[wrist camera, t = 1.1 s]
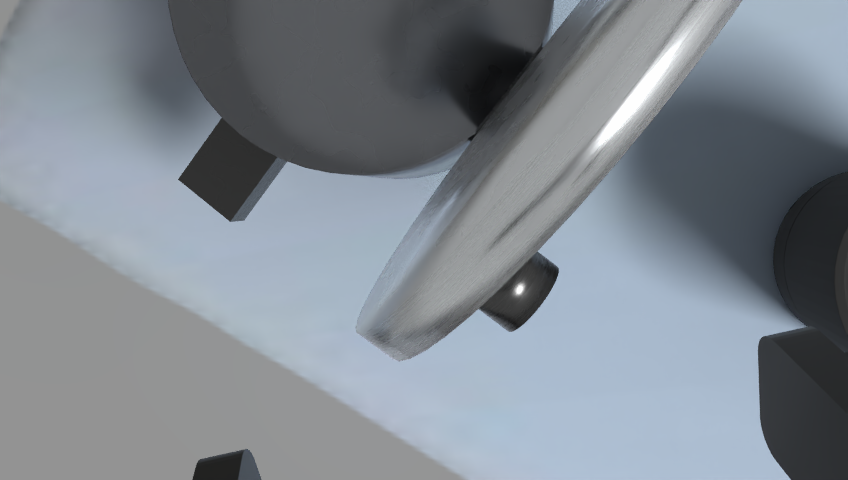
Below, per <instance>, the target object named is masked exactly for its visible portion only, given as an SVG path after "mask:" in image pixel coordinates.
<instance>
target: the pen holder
mask: <svg viewBox="0 0 848 480" xmlns="http://www.w3.org/2000/svg"><path fill="white" fill-rule="evenodd" d="M773 263H774V273H775V277H776V281H777V285H778V287H779V290H780V292H781V295H782V296H783V298H784V300H785V302H786V304H787V305H788V307H789V308H790V309H791V311H792V312H793V313H794V314H795V315H796V316H797V317H798V318H799V319H800V320H801V321H802V322H803V323H804V324H805V325H806V326H808V327H809V326H811V327H815V328H816V329H818V330H819V331H820V332H821V333H823V334H824V335H825V336H826V337H827V338H828V339H829V340H831V341H832V342H833V343H834V344H835V345H836V346H837V347H839V348H840V349H841V350H842V351H843V352H845V353H846V352H848V172H845V173H841V174H838V175H836V176H833V177H830V178H828V179H826V180H824V181H822V182H820V183H818V184H817V185H815V186H814V187H812V188H811V189H810V190H808V191H807V192H806V193H805V194H804V195H802V196H801V197H800V198H799V199H798V200H797V201H796V202H795V204H794V205H793V206H792V207H791V208H790V210H789V211H788V213H787V214H786V216H785V217H784V219H783V222H782V224H781V226H780V228H779V231H778V234H777V237H776V241H775V246H774V257H773Z"/></svg>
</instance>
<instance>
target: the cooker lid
mask: <svg viewBox="0 0 848 480" xmlns="http://www.w3.org/2000/svg"><path fill="white" fill-rule="evenodd" d="M741 1H742V0H581V1H580V2H579V4H578V5H577V6H576V7H575V8H574V10H573V11H572V12H571V13H570V15H569V16H568V17H567V18H566V20H565V21H564V22H563V23H562V25H561V26H560V27H559V28H558V29H557V31H556V32H555V33H554V34H553V36H552V37H551V38H550V39H549V41H548V42H547V43H546V44H545V46H544V47H543V48H542V47H539V48H538V50H537V51H536V52H535V54H534V55H533V56H532V58H531V59H530V60H529V62H528V63H527V64H526V65H525V67H524V68H523V69H522V71H521V72H520V73H519V75H518V76H517V77H516V78H515V80H514V81H513V82H512V84H511V85H510V86H509V88H508V89H507V90H506V92H505V93H504V94H503V95H502V97H501V98H500V99H499V101H498V102H497V103H496V105H495V106H494V107H493V108H492V110H491V111H490V112H489V114H488V115H487V116H486V118H485V119H484V120H483V121H482V123H481V124H480V125H479V127H478V128H477V129H476V131H475V132H477V134H476V136H475V137H474V138H473V140H472V141H471V142H470V144H469V145H468V146H467V148H466V149H465V151H464V152H463V153H462V155H461V156H460V157H459V159H458V160H457V162H456V163H455V164H454V166H453V167H452V168H451V170H450V171H449V173H448V174H447V175H446V177H445V178H444V180H443V181H442V182H441V184H440V185H439V187H438V188H437V190H436V191H435V192H434V194H433V195H432V197H431V198H430V200H429V201H428V202H427V204H426V205H425V207H424V208H423V210H422V211H421V213H420V214H419V216H418V217H417V218H416V220H415V221H414V223H413V224H412V226H411V227H410V229H409V230H408V232H407V233H406V235H405V236H404V238H403V239H402V241H401V243H400V244H399V246H398V247H397V249H396V250H395V252H394V254H393V255H392V257H391V258H390V260H389V261H388V263H387V265H386V266H385V268H384V270H383V271H382V273H381V275H380V276H379V278H378V280H377V281H376V283H375V285H374V287H373V289H372V290H371V292H370V294H369V296H368V298H367V300H366V302H365V304H364V306H363V308H362V310H361V312H360V315H359V317H358V320H357V324H356V332H357V333H358V334H359V335H361V336H362V337H363V338H365V339H366V340H367V341H369V342H370V343H371V344H373V345H374V346H376V347H377V348H378V349H380V350H381V351H382V352H384V353H385V354H386V355H388V356H389V357H391V358H392V359H394V360H397V361H403V360H407V359H410V358H412V357H414V356H416V355H418V354H420V353H422V352H424V351H426V350H427V349H428V348H430V347H431V346H433V345H434V344H436V343H437V342H438V341H440V340H441V339H443V338H444V337H446V336H447V335H448V334H449V333H450V332H452V331H453V330H454V329H455V328H456V327H458V326H459V325H460V324H461V323H463V322H464V321H465V320H466V319H467V318H469V317H470V316H471V315H472V314H473V313H474V312H475V311H476V310H478V309H479V310H481V311H482V312H483V313H485V314H486V315H487V316H489V317H490V318H491V319H493V320H494V321H495V322H497V323H498V324H499V325H501V326H502V327H503V328H505V329H506V330H507V331H509V332H512V331H514V330H516V329H518V328H519V327H521V326H522V325H523V324H524V323H525V322H526V321H527V320H528V319H529V318H530V317H531V316H532V315H533V314H534V313H535V312H536V310H537V309H538V308H539V307H540V305H541V304H542V303H543V301H544V300H545V299H546V297H547V296H548V294H549V292H550V291H551V289H552V287H553V285H554V283H555V281H556V279H557V276H558V273H559V268H558V267H557V266H556V265H554V264H553V263H552V262H551V261H549V260H548V259H547V258H545V257H544V256H543V255H541V254H540V253H539V252H537V251H538V250H539V249H540V248H541V247H542V246H543V245H544V244H545V243H546V241H547V240H548V239H549V238H550V237H551V236H552V235H553V234H554V233H555V232H556V231H557V230H558V229H559V228H560V226H561V225H562V224H563V223H564V222H565V221H566V220H567V219H568V218H569V217H570V216H571V215H572V214H573V212H574V211H575V210H576V209H577V208H578V207H579V206H580V205H581V203H582V202H583V201H584V200H585V199H586V198H587V197H588V195H589V194H590V193H591V192H592V191H593V190H594V189H595V187H596V186H597V185H598V184H599V183H600V182H601V181H602V179H603V178H604V177H605V176H606V175H607V174H608V173H609V171H610V170H611V169H612V168H613V167H614V166H615V165H616V163H617V162H618V161H619V160H620V159H621V157H622V156H623V155H624V154H625V153H626V151H627V150H628V149H629V148H630V146H631V145H632V144H633V143H634V142H635V140H636V139H637V138H638V137H639V136H640V134H641V133H642V132H643V131H644V130H645V128H646V127H647V126H648V125H649V123H650V122H651V121H652V120H653V119H654V117H655V116H656V115H657V114H658V112H659V111H660V110H661V109H662V107H663V106H664V105H665V104H666V102H667V101H668V100H669V98H670V97H671V96H672V95H673V93H674V92H675V91H676V89H677V88H678V87H679V86H680V84H681V83H682V82H683V80H684V79H685V78H686V77H687V75H688V74H689V73H690V71H691V70H692V69H693V68H694V66H695V65H696V64H697V62H698V61H699V60H700V58H701V57H702V56H703V54H704V53H705V51H706V50H707V49H708V47H709V46H710V45H711V43H712V42H713V41H714V39H715V38H716V36H717V35H718V34H719V32H720V31H721V30H722V28H723V27H724V26H725V24H726V23H727V21H728V20H729V19H730V17H731V16H732V15H733V13H734V12H735V10H736V9H737V7H738V6H739V4H740V3H741Z"/></svg>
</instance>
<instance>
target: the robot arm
mask: <svg viewBox="0 0 848 480" xmlns="http://www.w3.org/2000/svg"><path fill="white" fill-rule="evenodd" d="M758 365H759V395H760V420H761V427H762V431H763V434H764V438H765V440H766V443H767V445H768V448H769V450H770V452H771V454H772V455H773V457H774V458H775V460H776V461H777V462H778V464H779V465H780V466H781V467H782V469H783V470H784V471H785V473H786V474H787V475H788V476H789V478H790V479H791V480H848V352H846V353H844V352H843V351H842V350H841V349H840V348H839V347H837V346H836V345H835V344H834V343H833V342H832V341H831V340H829V339H828V338H827V337H826V336H825V335H824V334H823V333H821V332H820V331H819V330H818V329H816V328H815V327H811V326H809V327H805V328H800V329H796V330H791V331H787V332H782V333H778V334H773V335H768V336H764V337H762V338H761V339H760V341H759V345H758ZM193 480H261V477H260V474H259V471H258V468H257V466H256V463H255V460H254V457H253V455H252V453H251V452H250V451H249V450H248V449H245V450H240V451H236V452H231V453H227V454H222V455H218V456H213V457H208V458H204V459H200V460H199V461H198V463H197V465H196V468H195V472H194V476H193Z"/></svg>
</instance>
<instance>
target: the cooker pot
mask: <svg viewBox="0 0 848 480" xmlns="http://www.w3.org/2000/svg"><path fill="white" fill-rule="evenodd" d="M168 2H169V10H170V15H171V20H172V25H173V30H174V34H175V37H176V40H177V43H178V46H179V49H180V52H181V55H182V57H183V59H184V61H185V63H186V65H187V68H188V70H189V72H190V74H191V76H192V78H193V80H194V81H195V83H196V84H197V86H198V87H199V89H200V90H201V92H202V94H203V95H204V97H205V98H206V100H207V101H208V102H209V103H210V104H211V105H212V107H213V108H214V109H215V110H216V111H217V113H218V114H219V115H220V116H221V117H222V118H221V120H220V121H219V123H218V124H217V125H216V127H215V128H214V130H213V131H212V133H211V134H210V135H209V137H208V138H207V140H206V141H205V142H204V144H203V145H202V147H201V148H200V149H199V151H198V152H197V154H196V155H195V156H194V158H193V159H192V161H191V162H190V163H189V165H188V166H187V168H186V169H185V170H184V172H183V173H182V175H181V176H180V177H179V179H178V180H179V181H181V182H182V183H183V184H184V185H186V186H187V187H188V188H189V189H191V190H192V191H193V192H194V193H195V194H197V195H198V196H199V197H200V198H202V199H203V200H204V201H205V202H207V203H208V204H209V205H210V206H212V207H213V208H214V209H215V210H216V211H218V212H219V213H220V214H221V215H223V216H224V217H225V218H226V219H228V220H229V221H230V222H233V221H244V220H245V218H246V217H247V216H248V214H249V213H250V211H251V210H252V209H253V207H254V206H255V205H256V203H257V202H258V201H259V199H260V198H261V196H262V195H263V194H264V192H265V191H266V190H267V188H268V187H269V186H270V184H271V183H272V181H273V180H274V179H275V177H276V176H277V175H278V173H279V172H280V170H281V169H282V168H283V166H284V165H285V164H286V162H287V161H288V162H291V163H294V164H296V165H299V166H302V167H305V168H310V169H314V170H319V171H324V172H329V173H338V174H349V175H359V176H369V177H379V178H394V179H403V178H418V177H423V176H428V175H433V174H437V173H440V172H443V171H446V170H449V169H451V168H452V167H453V166H454V164H455V163H456V162H457V160H458V159H459V157H460V156H461V155H462V153H463V152H464V151H465V149H466V148H467V146H468V145H469V144H470V142H471V141H472V140H473V138H474V137H475V136H476V134H477V132H475V131H476V129H477V128H478V127H479V125H480V124H481V123H482V121H483V120H484V119H485V118H486V116H487V115H488V114H489V112H490V111H491V110H492V108H493V107H494V106H495V105H496V103H497V102H498V101H499V99H500V98H501V97H502V95H503V94H504V93H505V92H506V90H507V89H508V88H509V86H510V85H511V84H512V82H513V81H514V80H515V78H516V77H517V76H518V75H519V73H520V72H521V71H522V69H523V68H524V67H525V65H526V64H527V63H528V62H529V60H530V59H531V58H532V56H533V55H534V54H535V52H536V51H537V50H538V48H539V47H542V48H543V47H544V46H545V44H546V43H547V42H548V41H549V39H550V38H551V36H552V24H553V9H554V0H168Z"/></svg>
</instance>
